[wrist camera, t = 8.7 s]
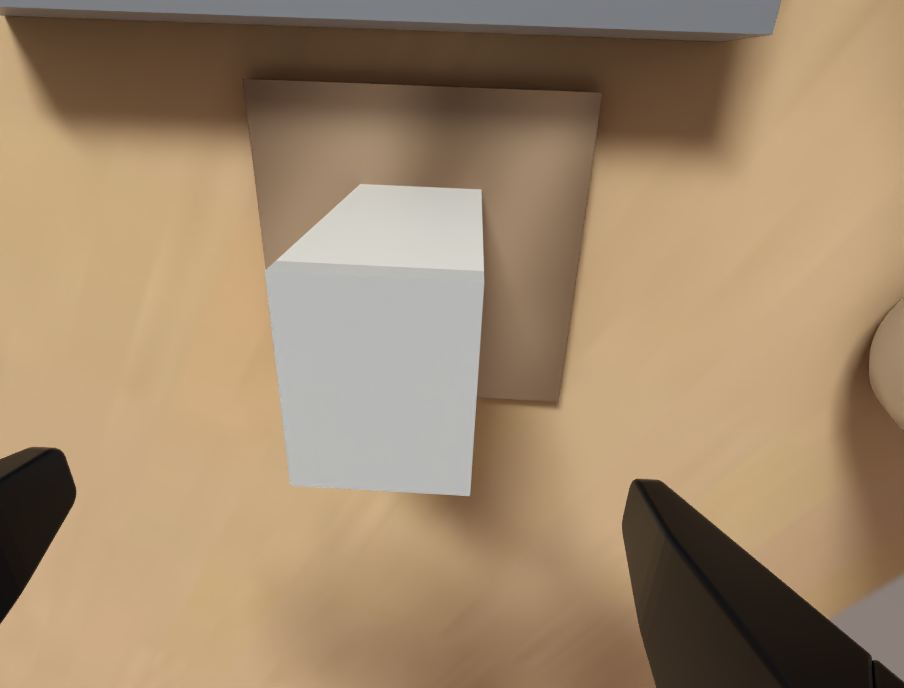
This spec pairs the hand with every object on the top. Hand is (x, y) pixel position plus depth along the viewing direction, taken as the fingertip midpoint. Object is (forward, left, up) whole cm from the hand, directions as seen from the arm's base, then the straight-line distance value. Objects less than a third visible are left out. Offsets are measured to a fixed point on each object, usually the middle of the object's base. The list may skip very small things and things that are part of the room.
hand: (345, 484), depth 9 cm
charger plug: (0, 0, -12) cm, 12 cm away
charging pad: (0, 0, -12) cm, 12 cm away
